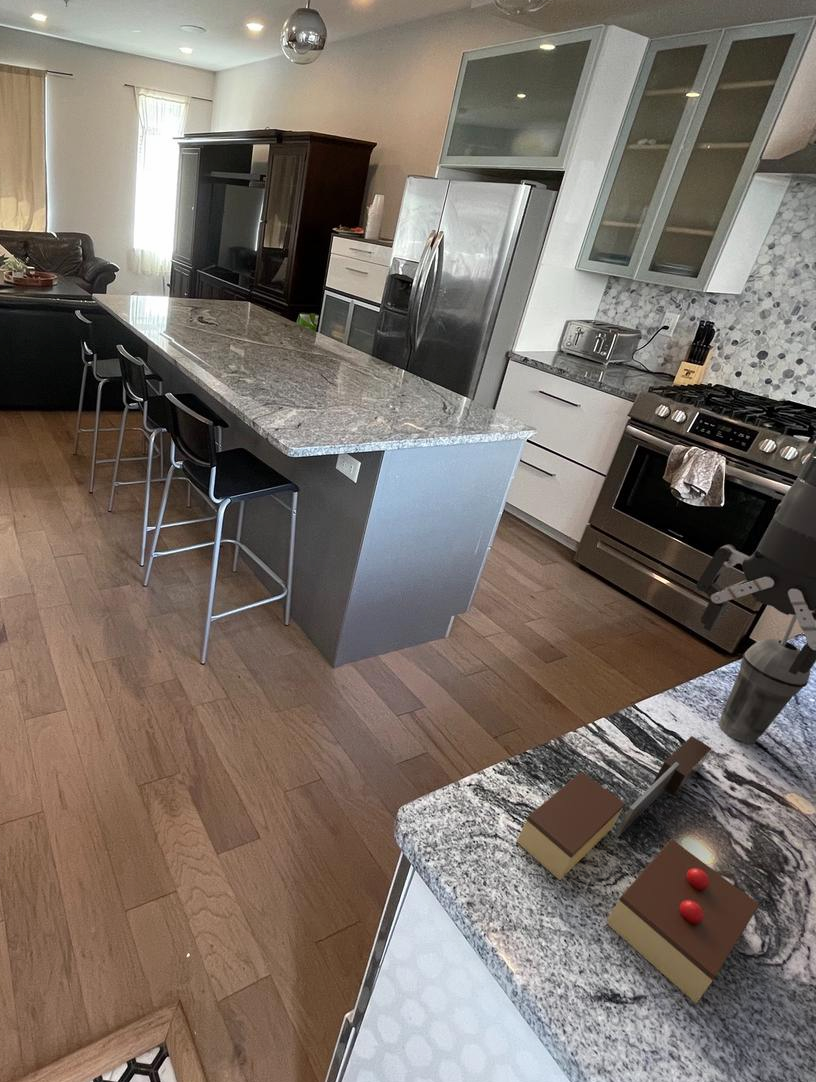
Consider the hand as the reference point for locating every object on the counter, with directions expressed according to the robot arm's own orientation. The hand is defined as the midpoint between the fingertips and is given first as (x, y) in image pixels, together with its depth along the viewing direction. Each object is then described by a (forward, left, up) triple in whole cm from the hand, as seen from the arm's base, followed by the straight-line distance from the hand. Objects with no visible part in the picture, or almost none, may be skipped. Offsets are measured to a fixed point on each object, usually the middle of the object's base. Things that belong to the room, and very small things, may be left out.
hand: (749, 649), depth 73 cm
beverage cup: (-18, +1, -20) cm, 27 cm away
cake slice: (+23, -3, -20) cm, 31 cm away
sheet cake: (+23, +8, -20) cm, 32 cm away
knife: (+7, 0, -20) cm, 21 cm away
